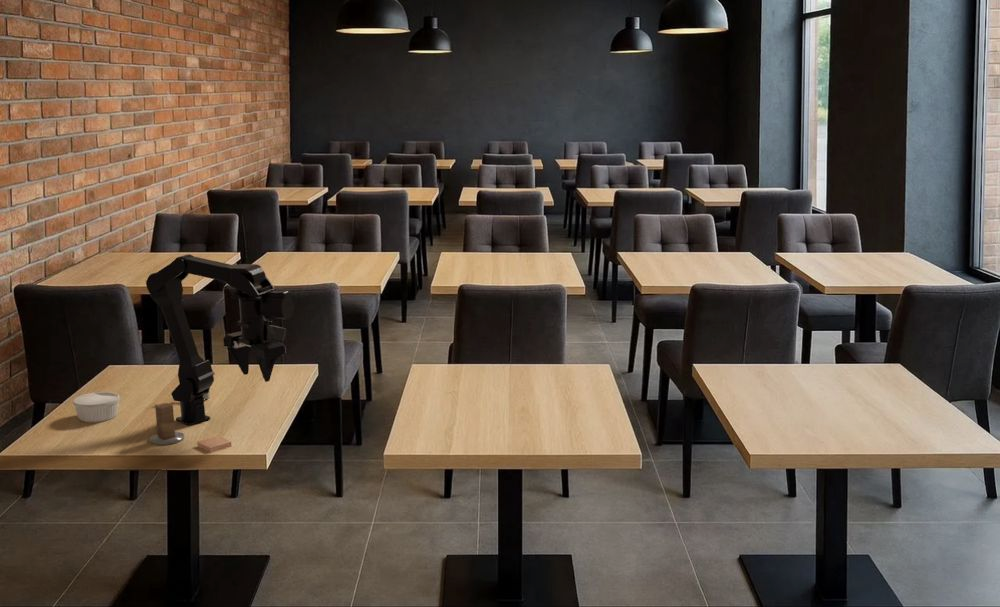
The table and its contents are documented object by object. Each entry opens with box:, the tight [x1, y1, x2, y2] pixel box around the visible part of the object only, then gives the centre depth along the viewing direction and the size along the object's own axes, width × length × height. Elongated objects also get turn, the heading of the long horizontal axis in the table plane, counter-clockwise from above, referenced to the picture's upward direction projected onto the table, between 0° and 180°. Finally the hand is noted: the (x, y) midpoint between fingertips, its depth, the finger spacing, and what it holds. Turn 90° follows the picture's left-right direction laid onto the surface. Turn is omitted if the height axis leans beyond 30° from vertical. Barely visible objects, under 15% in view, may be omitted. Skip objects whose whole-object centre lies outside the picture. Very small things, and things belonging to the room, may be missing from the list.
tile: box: [196, 435, 232, 453], centre depth 248 cm, size 2×6×6 cm
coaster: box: [149, 431, 185, 446], centre depth 253 cm, size 8×8×1 cm
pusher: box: [154, 402, 176, 440], centre depth 252 cm, size 3×3×8 cm
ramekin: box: [72, 391, 121, 423], centre depth 269 cm, size 11×11×5 cm
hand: (256, 377), depth 258 cm, fingers open, 9 cm apart
